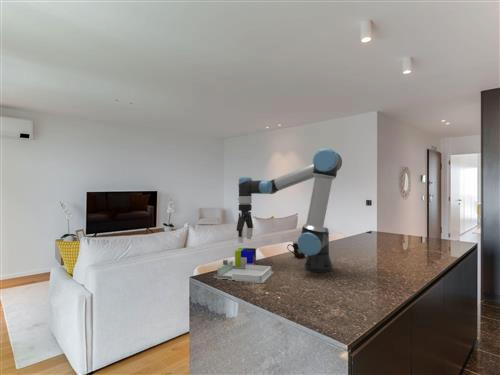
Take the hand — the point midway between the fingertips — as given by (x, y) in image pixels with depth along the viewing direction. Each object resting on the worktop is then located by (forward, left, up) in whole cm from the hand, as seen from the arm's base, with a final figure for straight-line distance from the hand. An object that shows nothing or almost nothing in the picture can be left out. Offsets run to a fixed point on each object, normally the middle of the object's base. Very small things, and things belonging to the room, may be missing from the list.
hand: (245, 240), depth 163 cm
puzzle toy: (0, 0, -15) cm, 15 cm away
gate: (+5, +17, -14) cm, 22 cm away
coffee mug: (-24, -33, -15) cm, 44 cm away
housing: (-6, +17, -15) cm, 23 cm away
